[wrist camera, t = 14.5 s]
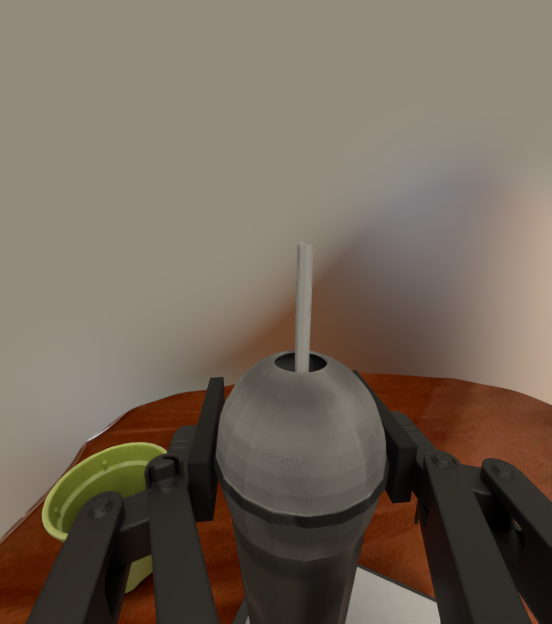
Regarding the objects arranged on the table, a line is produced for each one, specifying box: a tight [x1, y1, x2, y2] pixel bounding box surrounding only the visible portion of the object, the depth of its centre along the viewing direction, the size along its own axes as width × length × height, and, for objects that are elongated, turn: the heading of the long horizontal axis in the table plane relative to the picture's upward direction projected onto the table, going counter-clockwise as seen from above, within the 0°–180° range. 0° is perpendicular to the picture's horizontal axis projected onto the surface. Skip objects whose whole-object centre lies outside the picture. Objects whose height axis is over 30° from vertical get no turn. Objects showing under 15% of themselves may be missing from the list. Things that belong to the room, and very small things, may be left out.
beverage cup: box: [214, 242, 389, 624], centre depth 13 cm, size 7×7×20 cm
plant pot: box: [42, 442, 167, 593], centre depth 25 cm, size 9×9×9 cm
